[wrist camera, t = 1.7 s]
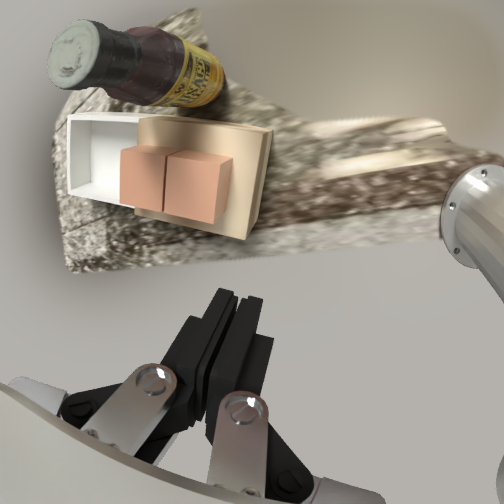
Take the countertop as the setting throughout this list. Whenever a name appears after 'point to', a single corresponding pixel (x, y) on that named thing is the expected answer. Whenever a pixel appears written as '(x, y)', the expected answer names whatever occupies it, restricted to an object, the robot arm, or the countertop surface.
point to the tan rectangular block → (220, 143)
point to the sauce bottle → (134, 65)
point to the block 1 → (144, 176)
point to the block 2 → (197, 185)
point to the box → (99, 152)
